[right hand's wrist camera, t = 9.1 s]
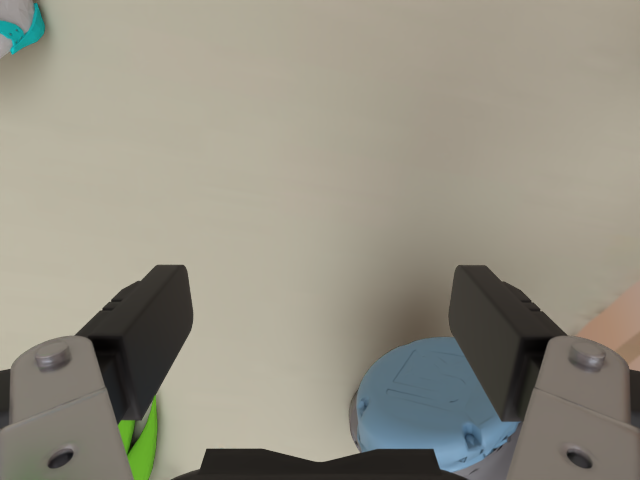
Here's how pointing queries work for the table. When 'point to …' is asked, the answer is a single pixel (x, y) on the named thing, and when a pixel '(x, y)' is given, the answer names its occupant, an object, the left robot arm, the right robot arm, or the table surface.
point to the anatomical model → (19, 25)
